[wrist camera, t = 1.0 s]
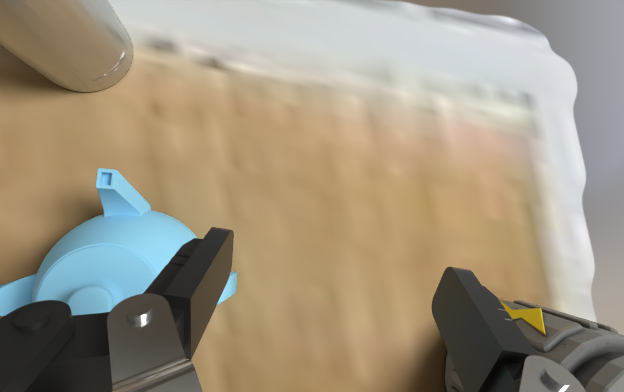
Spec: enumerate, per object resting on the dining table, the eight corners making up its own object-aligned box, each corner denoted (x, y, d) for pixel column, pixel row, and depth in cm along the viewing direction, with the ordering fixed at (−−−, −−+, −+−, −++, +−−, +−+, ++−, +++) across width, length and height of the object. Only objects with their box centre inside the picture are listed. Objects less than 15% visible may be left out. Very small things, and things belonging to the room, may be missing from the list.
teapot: (137, 388, 30) (80, 479, 20) (14, 288, 28) (-120, 330, 18) (246, 271, 33) (247, 296, 23) (141, 175, 31) (91, 155, 21)
